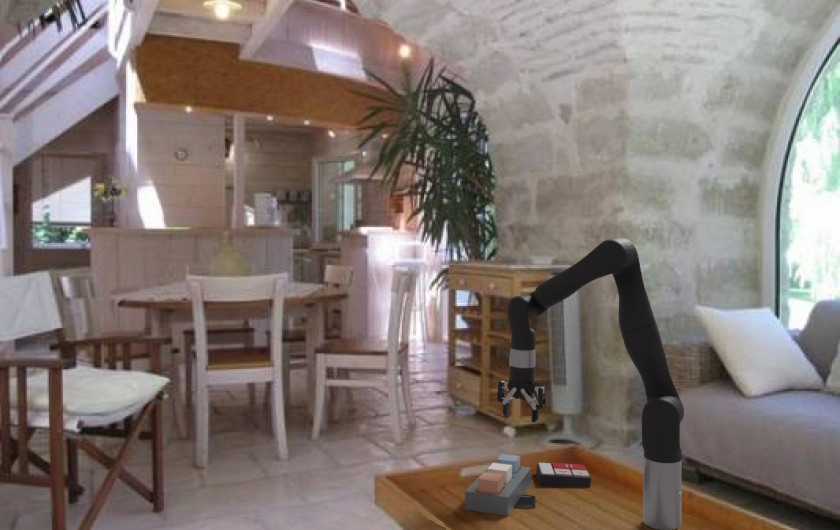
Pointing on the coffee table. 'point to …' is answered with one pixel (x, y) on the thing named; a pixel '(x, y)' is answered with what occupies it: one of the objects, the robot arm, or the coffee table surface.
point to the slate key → (510, 461)
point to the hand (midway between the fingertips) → (520, 419)
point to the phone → (526, 502)
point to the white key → (502, 471)
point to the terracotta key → (490, 483)
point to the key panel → (505, 499)
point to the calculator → (562, 475)
